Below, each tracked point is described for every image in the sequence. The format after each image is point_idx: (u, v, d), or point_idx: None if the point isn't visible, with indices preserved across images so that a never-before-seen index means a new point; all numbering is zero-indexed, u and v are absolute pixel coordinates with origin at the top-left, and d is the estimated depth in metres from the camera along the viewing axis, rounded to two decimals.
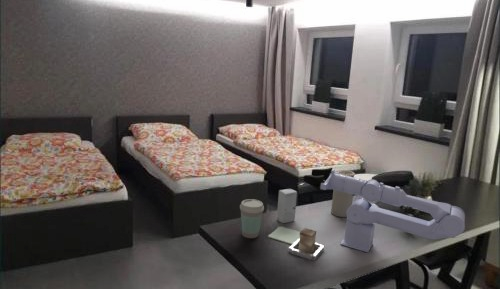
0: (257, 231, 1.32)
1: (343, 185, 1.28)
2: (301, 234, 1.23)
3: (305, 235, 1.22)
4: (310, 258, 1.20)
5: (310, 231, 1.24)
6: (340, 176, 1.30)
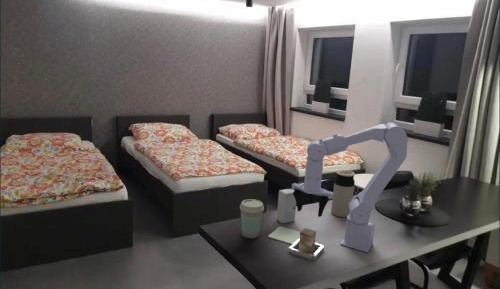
0: (257, 231, 1.32)
1: (312, 177, 1.27)
2: (301, 234, 1.23)
3: (305, 235, 1.22)
4: (310, 258, 1.20)
5: (310, 231, 1.24)
6: (312, 183, 1.27)
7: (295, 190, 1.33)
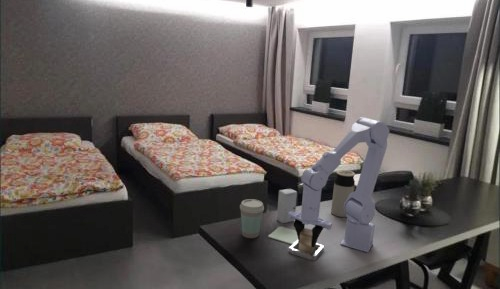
0: (257, 231, 1.32)
1: (314, 208, 1.19)
2: (301, 234, 1.23)
3: (305, 235, 1.22)
4: (310, 258, 1.20)
5: (310, 231, 1.24)
6: (310, 213, 1.19)
7: (296, 220, 1.24)
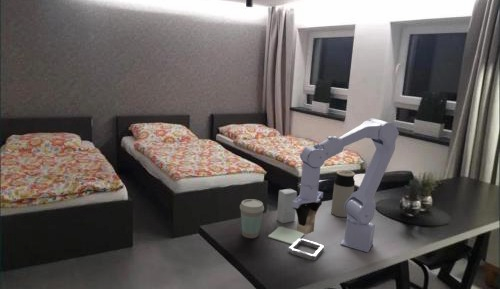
0: (257, 231, 1.32)
1: (312, 186, 1.19)
2: (309, 216, 1.21)
3: (311, 214, 1.22)
4: (310, 258, 1.20)
5: None
6: (317, 190, 1.21)
7: (302, 206, 1.19)
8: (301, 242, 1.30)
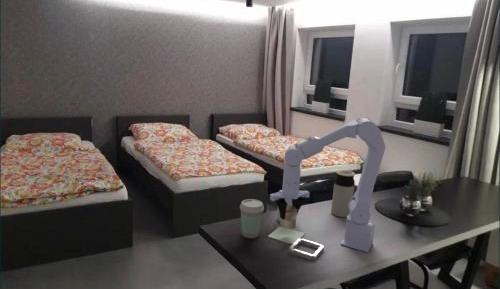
0: (257, 231, 1.32)
1: (290, 183, 1.28)
2: (288, 212, 1.30)
3: (291, 211, 1.31)
4: (310, 258, 1.20)
5: (290, 207, 1.33)
6: (296, 188, 1.29)
7: (280, 200, 1.30)
8: (301, 242, 1.30)
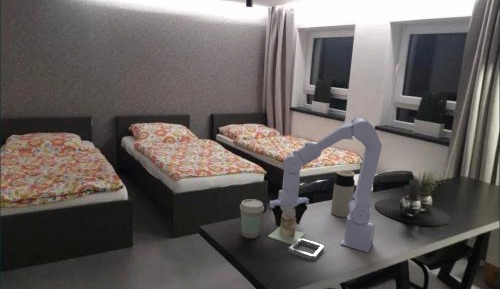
0: (257, 231, 1.32)
1: (289, 190, 1.29)
2: (287, 221, 1.31)
3: (290, 220, 1.32)
4: (310, 258, 1.20)
5: (289, 216, 1.34)
6: (296, 195, 1.30)
7: (275, 207, 1.30)
8: (301, 242, 1.30)
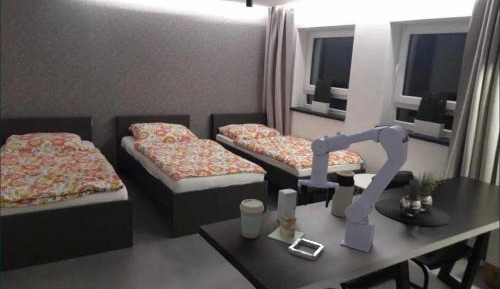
0: (257, 231, 1.32)
1: (315, 171, 1.34)
2: (287, 221, 1.31)
3: (290, 220, 1.32)
4: (310, 258, 1.20)
5: (289, 216, 1.34)
6: (322, 177, 1.34)
7: (302, 186, 1.38)
8: (301, 242, 1.30)
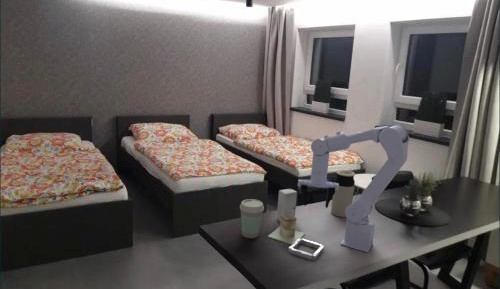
0: (257, 231, 1.32)
1: (315, 171, 1.34)
2: (287, 221, 1.31)
3: (290, 220, 1.32)
4: (310, 258, 1.20)
5: (289, 216, 1.34)
6: (322, 177, 1.34)
7: (302, 186, 1.38)
8: (301, 242, 1.30)
